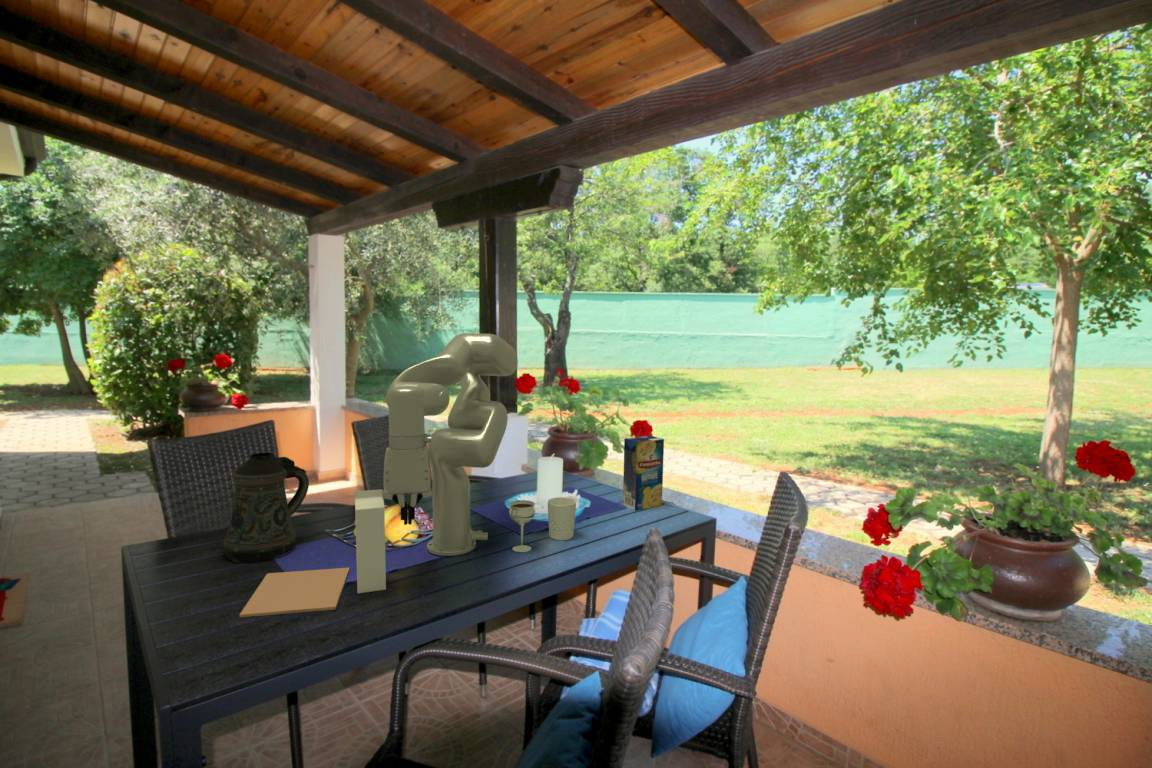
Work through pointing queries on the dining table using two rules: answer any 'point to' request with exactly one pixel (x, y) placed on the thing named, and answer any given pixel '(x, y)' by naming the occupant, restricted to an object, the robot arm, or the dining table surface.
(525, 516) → the wineglass
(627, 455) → the blue cardboard tall box
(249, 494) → the beer stein
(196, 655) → the dining table surface
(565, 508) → the beige tumbler cup
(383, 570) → the milk
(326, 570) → the mat
